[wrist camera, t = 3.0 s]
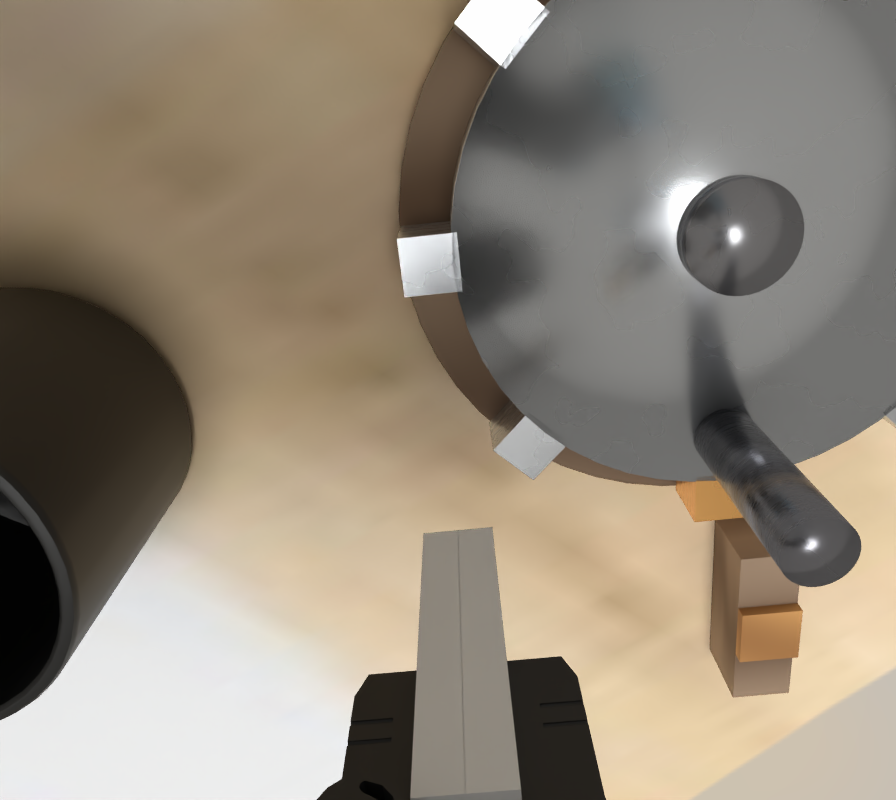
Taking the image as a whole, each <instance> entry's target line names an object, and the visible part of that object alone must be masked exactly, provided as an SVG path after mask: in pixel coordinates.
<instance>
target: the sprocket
mask: <svg viewBox="0 0 896 800" xmlns="http://www.w3.org/2000/svg"><path fill="white" fill-rule="evenodd" d="M453 29H454V30H455V31H456V32H457V33H458V34H459V35H460V36H461V37H462V38H463V39H465V40H466V41H467V42H468V43H469V44H470V45H471V46H472V47H473V48H474V49H476V50H477V51H478V52H479V53H480V54H481V55H482V56H483V57H484V58H485V59H487V60H488V61H489V62H490V63H491V64H492V65H493V66H494V67H495V68H494V70H493V71H492V73H491V75H490V77H489V79H488V81H487V83H486V85H485V87H484V89H483V91H482V93H481V95H480V97H479V99H478V101H477V103H476V105H475V107H474V109H473V112H472V115H471V117H470V120H469V123H468V126H467V129H466V132H465V134H464V137H463V140H462V143H461V147H460V151H459V156H458V160H457V165H456V169H455V174H454V179H453V188H452V199H451V210H450V221H443V222H434V223H424V224H415V225H406V226H400V230H399V233H398V236H397V245H398V253H399V260H400V268H401V276H402V283H403V291H404V297H413V296H423V295H432V294H442V293H452V292H457V294H458V299H459V302H460V305H461V309H462V312H463V315H464V318H465V321H466V325H467V328H468V331H469V333H470V335H471V337H472V339H473V342H474V344H475V346H476V348H477V350H478V352H479V354H480V356H481V359H482V361H483V362H484V364H485V365H486V367H487V368H488V370H489V372H490V373H491V375H492V376H493V378H494V379H495V381H496V382H497V384H498V385H499V387H500V388H501V390H502V391H503V392H504V393H505V394H506V395H507V396H508V398H509V399H510V400H509V402H508V403H507V404H506V405H505V406H504V407H503V408H502V409H501V410H500V411H499V413H498V414H497V415H496V416H495V417H494V418H493V419H492V420H491V421H490V422H489V424H490V431H491V438H492V445H493V451H495V452H496V453H497V454H499V455H500V456H501V457H503V458H504V459H505V460H507V461H508V462H510V463H511V464H512V465H514V466H515V467H516V468H518V469H519V470H520V471H522V472H523V473H524V474H526V475H527V476H529V477H530V478H531V479H533V480H534V479H535V478H536V477H537V476H538V475H539V474H540V473H541V472H542V471H543V470H544V469H545V467H546V466H547V465H548V464H549V463H550V462H551V461H552V460H553V459H554V458H555V457H556V456H557V455H558V454H559V453H560V452H561V451H562V450H563V449H564V448H565V447H567V448H569V449H570V450H572V451H574V452H576V453H578V454H580V455H582V456H584V457H586V458H589V459H591V460H593V461H595V462H597V463H599V464H602V465H605V466H608V467H611V468H614V469H617V470H620V471H623V472H626V473H630V474H635V475H640V476H645V477H650V478H655V479H662V480H675V481H676V491H677V493H678V494H679V496H680V498H681V499H682V501H683V503H684V505H685V506H686V508H687V510H688V511H689V513H690V515H691V517H692V518H693V520H694V522H701V521H712V520H723V519H733V518H744V519H745V520H746V522H747V523H748V525H749V526H750V527H751V529H752V530H753V532H754V533H755V535H756V536H757V537H758V539H759V540H760V542H761V543H762V544H763V546H764V547H765V549H766V550H767V552H768V553H769V554H770V556H771V557H772V559H773V560H774V561H775V563H776V564H777V566H778V567H779V569H780V570H781V571H782V573H783V574H784V575H785V577H786V578H787V579H789V580H790V581H791V582H793V583H795V584H798V585H801V586H806V587H817V586H823V585H827V584H830V583H833V582H835V581H837V580H839V579H840V578H842V577H843V576H845V575H846V574H847V573H848V572H849V571H850V570H851V569H852V568H853V567H854V565H855V564H856V562H857V560H858V558H859V556H860V552H861V540H860V537H859V535H858V533H857V531H856V530H855V529H854V528H853V527H852V526H851V525H850V523H849V522H848V521H847V520H846V519H845V518H844V517H843V516H842V515H841V514H840V513H839V512H838V511H837V510H836V509H835V508H834V506H833V505H832V504H831V503H830V502H829V501H828V500H827V499H826V498H825V497H824V496H823V495H822V494H821V493H820V492H819V490H818V489H817V488H816V487H815V486H814V485H813V484H812V483H811V482H810V481H809V480H808V479H807V478H806V477H805V476H804V475H803V473H802V472H801V471H800V470H799V469H798V468H797V467H796V466H795V465H794V464H796V463H799V462H802V461H804V460H807V459H809V458H812V457H815V456H817V455H820V454H822V453H824V452H826V451H828V450H830V449H832V448H834V447H836V446H837V445H839V444H841V443H843V442H845V441H847V440H849V439H851V438H853V437H854V436H856V435H857V434H859V433H860V432H862V431H864V430H865V429H867V428H868V427H870V426H871V425H873V424H874V423H876V422H878V421H879V420H881V419H882V418H883V419H884V420H886V421H887V422H888V423H890V424H891V425H892V426H894V427H895V428H896V0H550V1H549V2H548V3H547V4H545V5H544V6H543V5H542V4H541V3H539V2H538V1H537V0H471V1H470V2H469V4H468V5H467V6H466V8H465V9H464V11H463V12H462V13H461V15H460V16H459V17H458V19H457V20H456V22H455V23H454V28H453Z"/></svg>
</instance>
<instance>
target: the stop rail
mask: <svg viewBox="0 0 896 800" xmlns="http://www.w3.org/2000/svg"><path fill="white" fill-rule="evenodd" d="M798 592H799V585H798V584H795V583H793V582H791V581H790V580H789V579H787V578H786V577H785V575H784V574H783V573H782V571H781V570H780V569H779V567H778V566H777V564H776V563H775V561H774V560H773V559H772V557H771V556H770V554H769V553H768V552H767V550H766V549H765V547H764V546H763V544H762V543H761V542H760V540H759V539H758V537H757V536H756V535H755V533H754V532H753V530H752V529H751V527H750V526H749V525H748V523H747V522H746V520H745V519H744V518H733V519H723V520H715V539H714V563H713V587H712V611H711V635H710V650H711V652H712V655H713V657H714V659H715V661H716V663H717V665H718V667H719V669H720V671H721V673H722V675H723V678H724V680H725V682H726V684H727V686H728V688H729V690H730V692H731V694H732V696H733V697H743V696H755V695H767V694H778V693H789V684H790V674H791V664H792V658H795V657H798V652H799V642H800V632H801V622H802V613H803V610H802V609H801V608H800V606H799V605H798V603H797V602H798Z"/></svg>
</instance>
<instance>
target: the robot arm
mask: <svg viewBox="0 0 896 800" xmlns="http://www.w3.org/2000/svg"><path fill="white" fill-rule="evenodd" d="M317 800H606V798H605V795H604V791H603V786H602V782H601V778H600V773H599V769H598V764H597V760H596V756H595V751H594V747H593V743H592V738H591V734H590V730H589V725H588V722H587V716H586V712H585V708H584V705H583V699H582V695H581V690H580V686H579V682H578V677H577V675H576V674H575V673H574V672H573V670H572V669H571V668H570V667H569V665H568V664H567V663H566V662H565V661H564V659H563V658H562V657H561V656H560V657H549V658H537V659H525V660H514V661H507V657H506V648H505V639H504V630H503V621H502V612H501V603H500V593H499V584H498V575H497V566H496V557H495V548H494V539H493V530H492V527H489V528H478V529H467V530H456V531H445V532H435V533H424V535H423V555H422V575H421V594H420V614H419V634H418V654H417V671H406V672H394V673H382V674H371V675H368V677H367V678H366V680H365V681H364V683H363V685H362V686H361V688H360V689H359V691H358V692H357V694H356V695H355V697H354V704H353V710H352V717H351V726H350V730H349V736H348V746H347V749H346V756H345V762H344V769H343V776H342V779H341V780H340V781H338V782H336V783H335V784H333V785H331V786H330V787H328V788H327V789H326V790H325V791H324V792H323V793H322V794H321V796H320V797H319V798H318V799H317Z"/></svg>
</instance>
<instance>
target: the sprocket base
mask: <svg viewBox="0 0 896 800" xmlns="http://www.w3.org/2000/svg"><path fill="white" fill-rule="evenodd" d="M470 1H471V0H470ZM470 1H469V2H470ZM537 1H538V2H539V3H541V4H542V5H543V6H544V5H545V4H547V3H548V2H549V1H550V0H537ZM468 4H469V3H468ZM468 4H467V5H468ZM465 8H466V7H465ZM453 28H454V26H453ZM453 28H452V30H451V31H450V33H449V34H448V36H447V37H446V39H445V41H444V42H443V44H442V46H441V49H440V51H439V53H438V55H437V57H436V59H435V61H434V63H433V65H432V68H431V70H430V72H429V74H428V76H427V78H426V80H425V82H424V85H423V88H422V91H421V94H420V97H419V100H418V103H417V106H416V109H415V112H414V115H413V118H412V121H411V125H410V128H409V133H408V139H407V144H406V149H405V154H404V159H403V164H402V170H401V186H400V201H399V221H400V226H406V225H415V224H424V223H434V222H443V221H450V210H451V199H452V188H453V179H454V174H455V169H456V165H457V160H458V156H459V151H460V147H461V143H462V140H463V137H464V134H465V132H466V129H467V126H468V123H469V120H470V117H471V115H472V112H473V109H474V107H475V105H476V103H477V101H478V99H479V97H480V95H481V93H482V91H483V89H484V87H485V85H486V83H487V81H488V79H489V77H490V75H491V73H492V71H493V70H494V68H495V67H494V66H493V65H492V64H491V63H490V62H489V61H488V60H487V59H485V58H484V57H483V56H482V55H481V54H480V53H479V52H478V51H477V50H476V49H474V48H473V47H472V46H471V45H470V44H469V43H468V42H467V41H466V40H465V39H463V38H462V37H461V36H460V35H459V34H458V33H457V32H456V31H455V30H454V29H453ZM412 300H413V303H414V306H415V309H416V312H417V315H418V318H419V320H420V323H421V326H422V328H423V330H424V332H425V334H426V336H427V338H428V340H429V342H430V344H431V346H432V348H433V350H434V352H435V354H436V356H437V358H438V359H439V361H440V362H441V364H442V365H443V367H444V368H445V370H446V371H447V373H448V374H449V376H450V377H451V378H452V380H453V381H454V383H455V384H456V386H457V387H458V388H459V389H460V390H461V391H462V393H463V394H464V395H465V396H466V397H467V398H468V399H469V400H470V402H471V403H472V404H473V405H474V406H475V407H476V408H477V409H478V411H479V412H481V413H482V414H483V415H484V416H485V417H486V418H488V419H489V420H490V421H491V420H492V419H493V418H494V417H495V416H496V415H497V414H498V413H499V411H500V410H501V409H502V408H503V407H504V406H505V405H506V404H507V403H508V402H509V400H510V399H509V398H508V396H507V395H506V394H505V393H504V392H503V391H502V390H501V388H500V387H499V385H498V384H497V382H496V381H495V379H494V378H493V376H492V375H491V373H490V372H489V370H488V368H487V367H486V365H485V364H484V362H483V361H482V359H481V356H480V354H479V352H478V350H477V348H476V346H475V344H474V342H473V339H472V337H471V335H470V333H469V331H468V328H467V325H466V321H465V318H464V315H463V312H462V309H461V305H460V302H459V299H458V294H457V292H452V293H442V294H432V295H423V296H413V297H412ZM552 461H553V462H556V463H558V464H560V465H562V466H564V467H567V468H570V469H573V470H576V471H579V472H582V473H585V474H588V475H591V476H594V477H599V478H604V479H609V480H614V481H619V482H624V483H632V484H644V485H657V486H670V485H676V481H675V480H662V479H655V478H650V477H645V476H640V475H635V474H630V473H626V472H623V471H620V470H617V469H614V468H611V467H608V466H605V465H602V464H599V463H597V462H595V461H593V460H591V459H589V458H586V457H584V456H582V455H580V454H578V453H576V452H574V451H572V450H570V449H569V448H567V447H565V448H564V449H563V450H562V451H561V452H560V453H559V454H558V455H557V456H556V457H555V458H554V459H553V460H552Z"/></svg>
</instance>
